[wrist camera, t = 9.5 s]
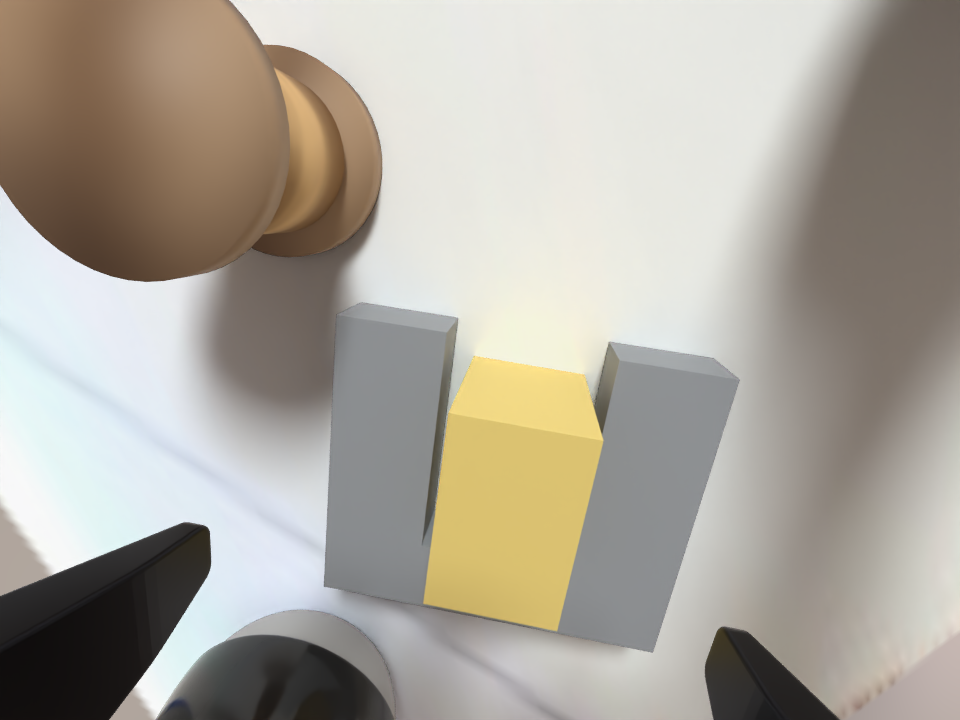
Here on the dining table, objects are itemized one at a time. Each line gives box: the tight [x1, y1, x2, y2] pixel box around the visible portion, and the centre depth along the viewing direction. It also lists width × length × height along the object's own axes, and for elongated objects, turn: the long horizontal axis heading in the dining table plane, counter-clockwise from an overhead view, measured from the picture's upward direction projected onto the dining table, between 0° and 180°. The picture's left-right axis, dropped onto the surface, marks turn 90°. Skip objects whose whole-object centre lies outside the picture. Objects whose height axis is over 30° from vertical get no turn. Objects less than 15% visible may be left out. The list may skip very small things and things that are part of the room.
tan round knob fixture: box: [0, 0, 382, 282], centre depth 14 cm, size 7×7×8 cm
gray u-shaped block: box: [324, 303, 739, 653], centre depth 20 cm, size 14×12×2 cm
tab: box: [423, 356, 603, 631], centre depth 18 cm, size 7×4×6 cm, turn 172°
